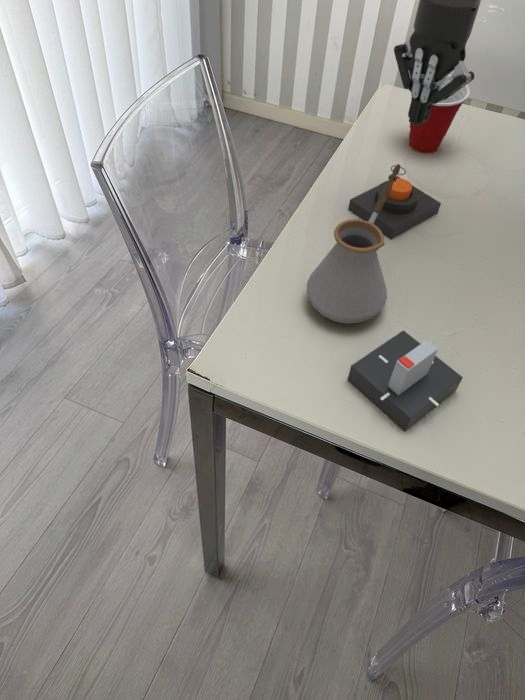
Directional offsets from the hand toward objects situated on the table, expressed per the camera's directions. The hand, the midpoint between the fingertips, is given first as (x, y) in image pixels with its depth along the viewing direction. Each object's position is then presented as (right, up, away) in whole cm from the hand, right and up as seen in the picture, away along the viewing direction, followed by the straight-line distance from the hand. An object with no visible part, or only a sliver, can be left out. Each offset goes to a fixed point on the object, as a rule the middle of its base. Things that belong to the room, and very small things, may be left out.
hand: (416, 122), depth 85 cm
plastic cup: (+9, +6, +27) cm, 29 cm away
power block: (-1, -10, +13) cm, 16 cm away
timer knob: (-5, -38, -15) cm, 41 cm away
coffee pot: (-9, -24, +1) cm, 26 cm away
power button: (-1, -8, +10) cm, 13 cm away
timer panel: (-5, -39, -11) cm, 41 cm away
